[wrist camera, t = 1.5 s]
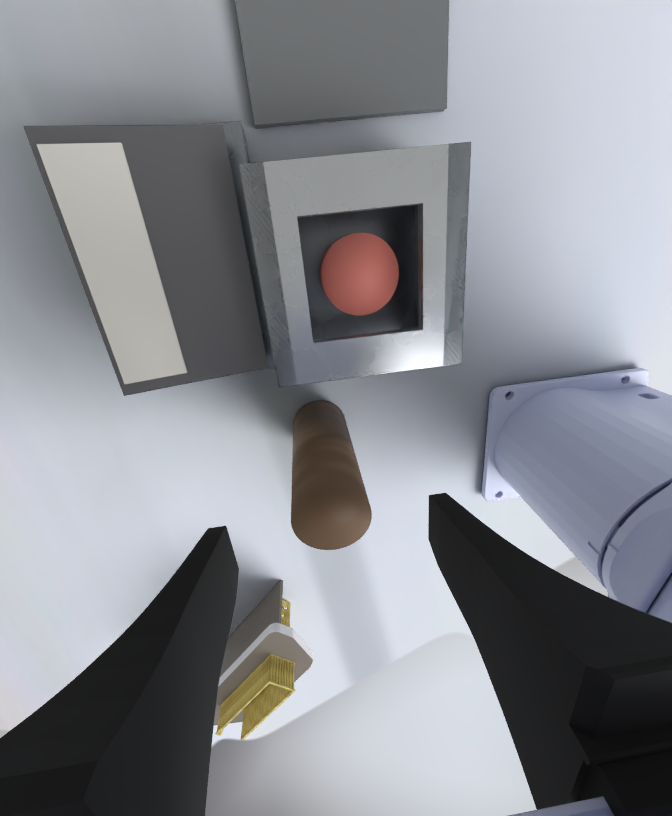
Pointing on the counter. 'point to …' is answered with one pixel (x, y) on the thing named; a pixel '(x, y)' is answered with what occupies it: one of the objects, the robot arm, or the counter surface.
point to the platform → (260, 665)
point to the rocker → (156, 247)
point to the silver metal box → (343, 215)
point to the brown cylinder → (326, 480)
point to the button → (359, 273)
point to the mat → (343, 58)
